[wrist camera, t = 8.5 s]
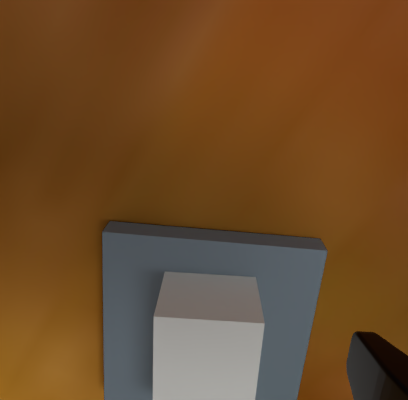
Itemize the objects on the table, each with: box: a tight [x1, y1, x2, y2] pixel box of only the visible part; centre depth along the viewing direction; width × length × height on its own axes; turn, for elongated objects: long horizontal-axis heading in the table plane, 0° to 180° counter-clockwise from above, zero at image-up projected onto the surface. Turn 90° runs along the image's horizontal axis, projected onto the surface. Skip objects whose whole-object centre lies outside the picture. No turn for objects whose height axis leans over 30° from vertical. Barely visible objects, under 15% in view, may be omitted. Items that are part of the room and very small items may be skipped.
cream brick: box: [153, 271, 265, 400], centre depth 20 cm, size 5×8×4 cm, turn 177°
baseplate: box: [102, 221, 327, 400], centre depth 23 cm, size 12×12×2 cm
